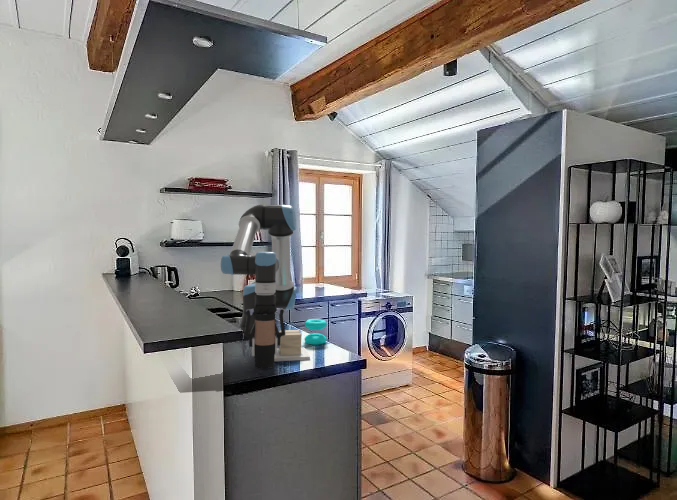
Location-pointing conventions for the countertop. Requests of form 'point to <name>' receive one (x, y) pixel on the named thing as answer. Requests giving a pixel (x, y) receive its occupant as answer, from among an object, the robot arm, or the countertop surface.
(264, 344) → the travel mug
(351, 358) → the countertop surface
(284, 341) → the wooden cube
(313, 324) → the donuts
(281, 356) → the white flat square slab
